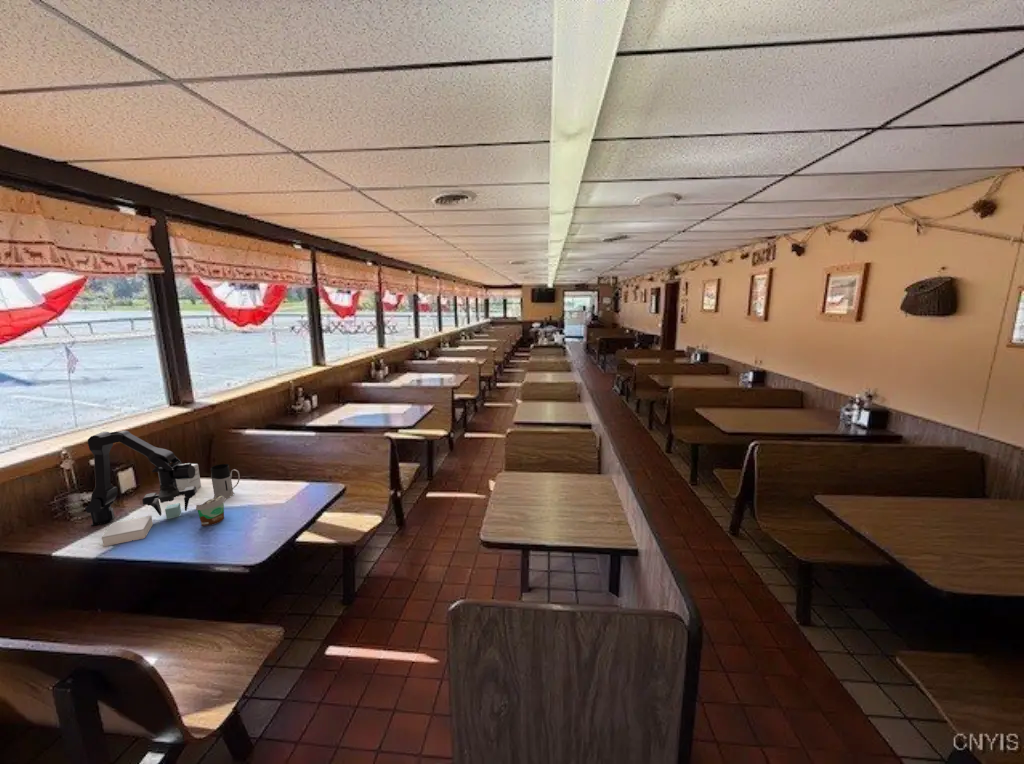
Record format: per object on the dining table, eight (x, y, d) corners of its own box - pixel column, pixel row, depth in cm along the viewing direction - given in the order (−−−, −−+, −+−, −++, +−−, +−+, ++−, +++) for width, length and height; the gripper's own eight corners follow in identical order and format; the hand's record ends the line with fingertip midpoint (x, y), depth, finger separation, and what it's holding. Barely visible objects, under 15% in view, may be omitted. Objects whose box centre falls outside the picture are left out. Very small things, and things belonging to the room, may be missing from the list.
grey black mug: (222, 491, 228) (218, 463, 225) (248, 492, 226) (244, 464, 223) (209, 499, 219) (204, 469, 217) (235, 500, 217) (231, 470, 215)
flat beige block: (103, 546, 178) (101, 537, 178) (114, 531, 190) (112, 522, 189) (144, 538, 184) (143, 528, 183) (153, 524, 196) (151, 515, 195)
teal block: (166, 519, 200) (165, 509, 199) (168, 514, 204) (167, 505, 204) (179, 516, 202) (177, 507, 201) (181, 512, 206) (179, 503, 205)
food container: (211, 528, 190) (207, 506, 189) (198, 527, 192) (195, 505, 190) (234, 515, 202) (231, 493, 200) (222, 514, 204) (219, 493, 202)
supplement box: (177, 492, 229) (172, 468, 227) (189, 486, 236) (185, 462, 234) (189, 492, 228) (185, 468, 225) (202, 486, 235) (198, 463, 233)
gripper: (136, 491, 189) (142, 525, 192) (190, 482, 197) (195, 515, 200) (143, 481, 199) (149, 515, 202) (194, 473, 207) (199, 505, 210)
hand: (173, 513), depth 203 cm, fingers open, 9 cm apart
